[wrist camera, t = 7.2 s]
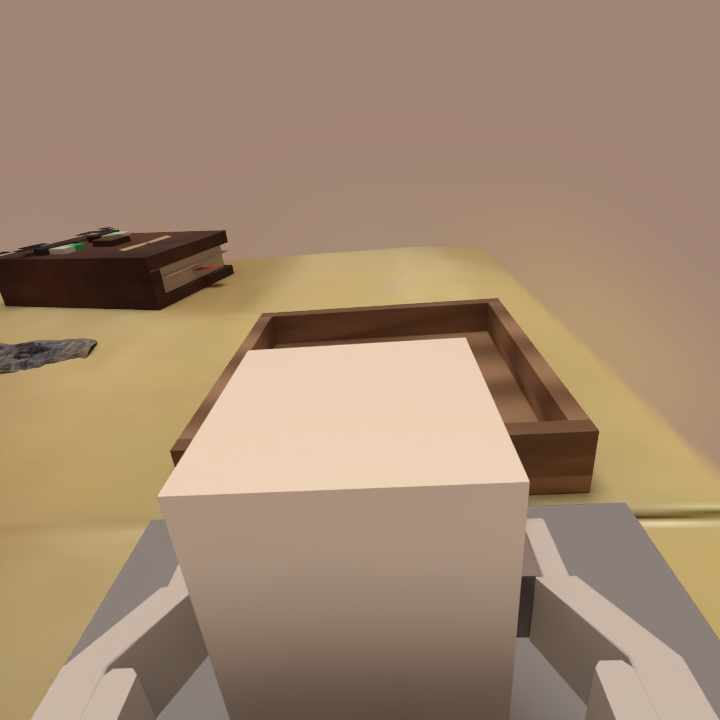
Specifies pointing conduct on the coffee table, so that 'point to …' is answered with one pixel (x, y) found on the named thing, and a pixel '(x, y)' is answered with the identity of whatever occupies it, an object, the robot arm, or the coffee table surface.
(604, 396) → the coffee table surface
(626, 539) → the board
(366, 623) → the tall cream pillar block
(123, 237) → the decorative book
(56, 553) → the coffee table surface
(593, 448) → the box
